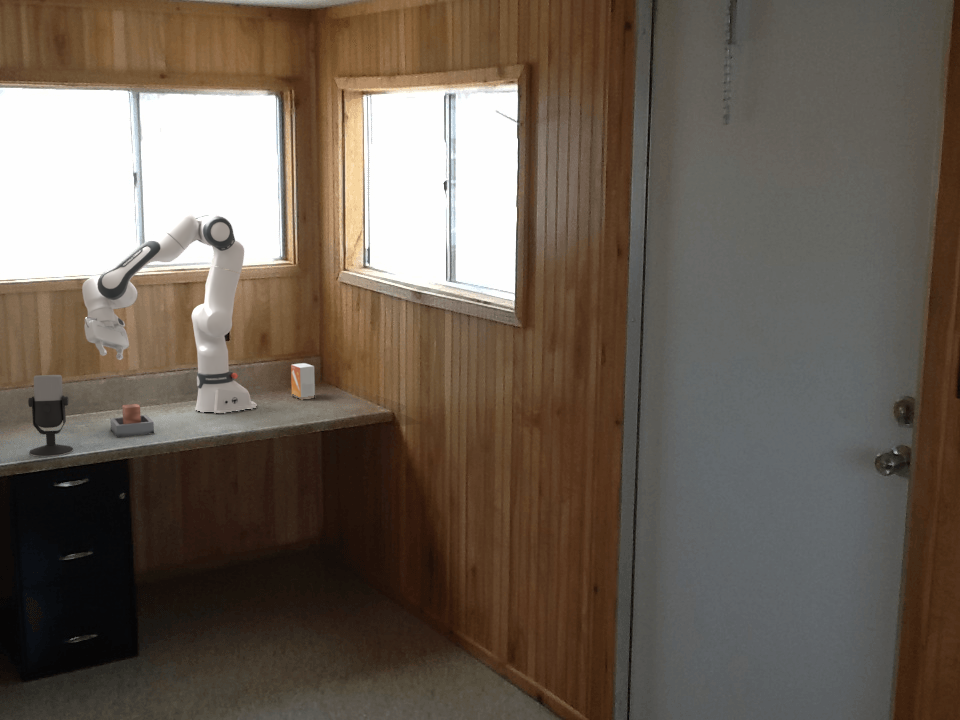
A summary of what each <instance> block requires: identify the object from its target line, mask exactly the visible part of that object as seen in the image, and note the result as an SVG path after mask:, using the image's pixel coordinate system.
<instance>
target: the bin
mask: <svg viewBox="0 0 960 720" xmlns="http://www.w3.org/2000/svg"><path fill="white" fill-rule="evenodd" d="M140 415H141V423H131V424H123V416H122V417H121V416H120V417H111V418H110V419H109V421H110V422H109V423H110V431H111V432H112V433H113V435H114V436H115V437H116V438H123V437H124V438H125V437H134V436H133V435H136V436H142V435H141V434H145V435H150V434H149V433H154V434H155V423H154V421H153V420H152V418H150V417H149V416H148V415H147V414H143V415H142V414H140Z"/></svg>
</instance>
